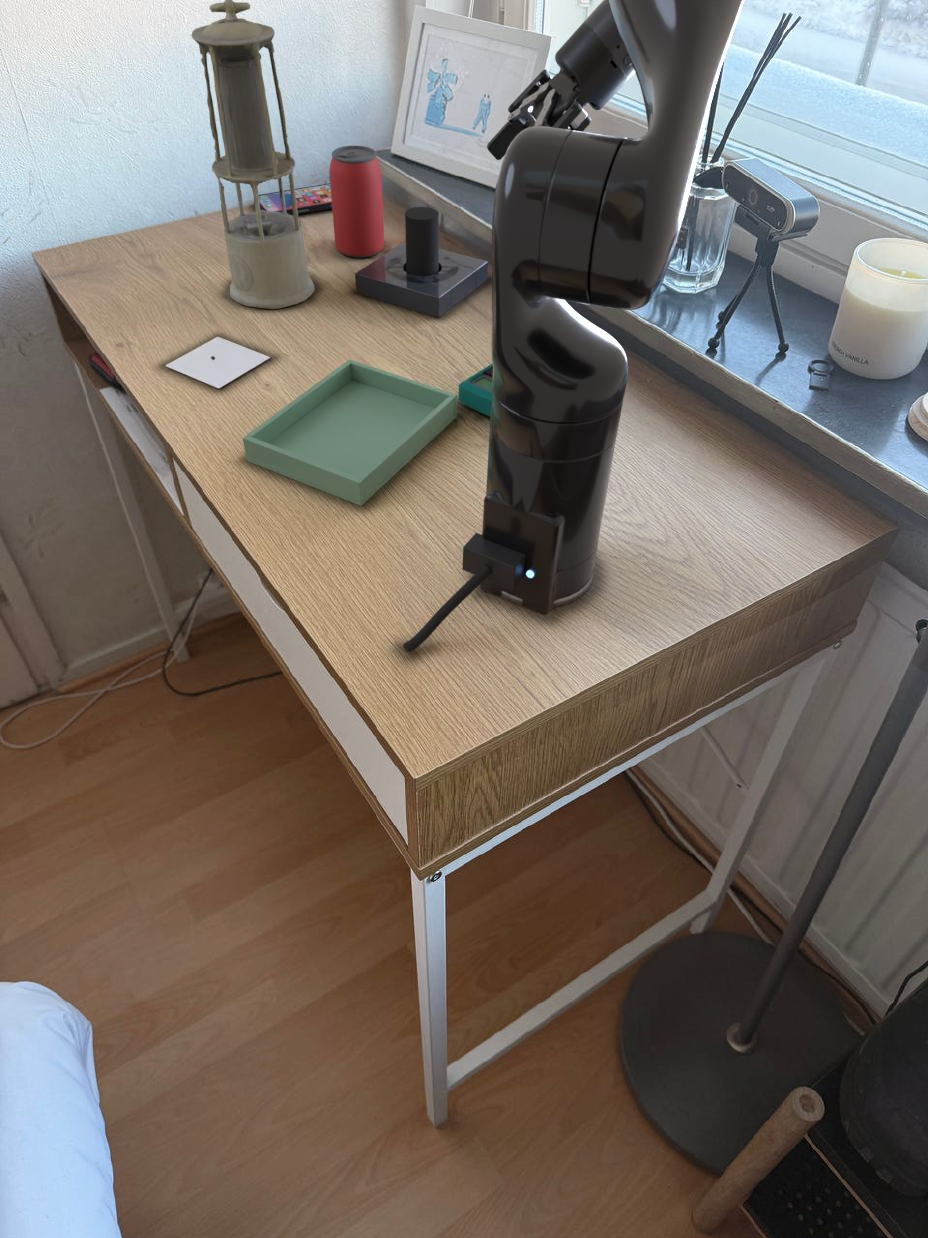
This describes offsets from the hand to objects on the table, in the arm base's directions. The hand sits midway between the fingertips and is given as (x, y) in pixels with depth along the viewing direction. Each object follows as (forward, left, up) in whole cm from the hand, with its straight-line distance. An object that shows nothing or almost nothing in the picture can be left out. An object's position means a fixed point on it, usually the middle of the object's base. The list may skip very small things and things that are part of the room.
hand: (500, 166), depth 101 cm
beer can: (-1, +20, -14) cm, 24 cm away
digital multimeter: (-21, -15, -14) cm, 29 cm away
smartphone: (+8, +35, -14) cm, 39 cm away
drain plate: (-6, +7, -14) cm, 17 cm away
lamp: (-16, +23, -14) cm, 31 cm away
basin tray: (-38, -5, -14) cm, 41 cm away
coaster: (-34, +16, -14) cm, 40 cm away
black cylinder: (-6, +7, -14) cm, 17 cm away
